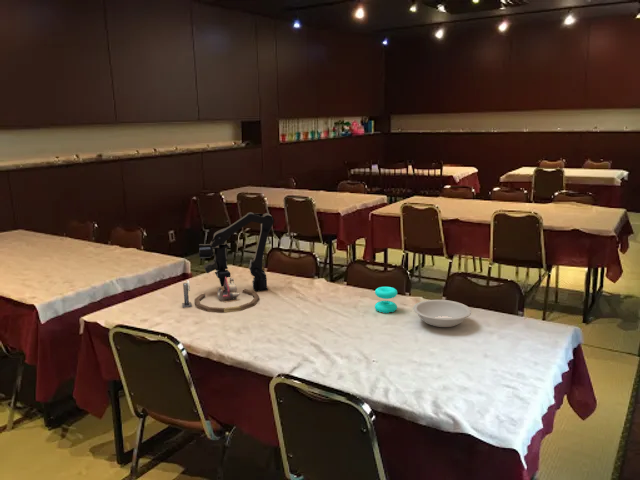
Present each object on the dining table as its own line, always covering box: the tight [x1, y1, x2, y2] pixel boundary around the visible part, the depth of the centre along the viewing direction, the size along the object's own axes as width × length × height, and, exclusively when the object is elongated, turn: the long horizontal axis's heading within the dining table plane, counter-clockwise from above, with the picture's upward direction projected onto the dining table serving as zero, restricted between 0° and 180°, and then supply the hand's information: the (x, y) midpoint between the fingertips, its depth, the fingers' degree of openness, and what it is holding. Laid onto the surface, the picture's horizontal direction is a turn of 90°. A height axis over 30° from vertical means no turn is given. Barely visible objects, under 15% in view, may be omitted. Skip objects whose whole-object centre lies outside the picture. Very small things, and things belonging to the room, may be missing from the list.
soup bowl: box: [412, 299, 472, 328], centre depth 231 cm, size 24×24×7 cm
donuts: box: [374, 286, 398, 314], centre depth 247 cm, size 10×10×10 cm
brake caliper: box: [216, 277, 240, 303], centre depth 266 cm, size 11×11×12 cm
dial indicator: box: [181, 279, 193, 309], centre depth 256 cm, size 4×5×12 cm
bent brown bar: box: [194, 288, 260, 313], centre depth 261 cm, size 30×26×2 cm
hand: (222, 286), depth 276 cm, fingers closed
